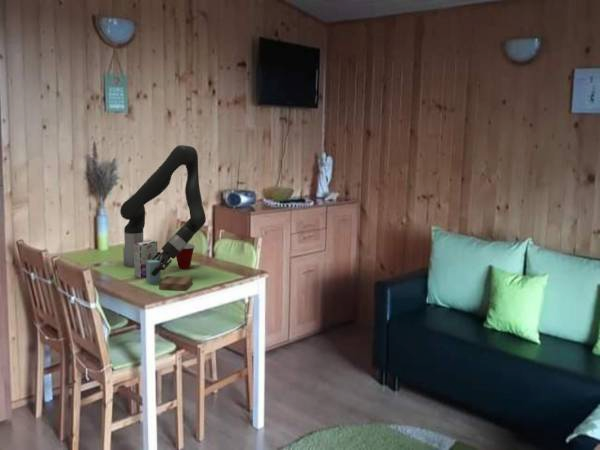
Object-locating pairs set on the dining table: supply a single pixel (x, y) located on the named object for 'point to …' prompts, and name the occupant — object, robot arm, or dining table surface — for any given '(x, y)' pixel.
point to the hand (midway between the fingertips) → (150, 273)
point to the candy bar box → (143, 256)
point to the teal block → (149, 269)
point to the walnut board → (175, 283)
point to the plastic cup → (185, 256)
